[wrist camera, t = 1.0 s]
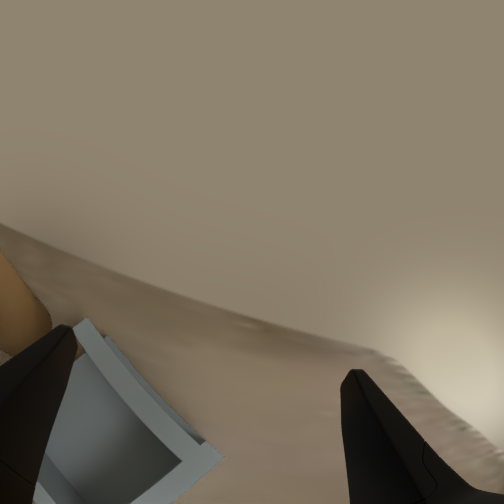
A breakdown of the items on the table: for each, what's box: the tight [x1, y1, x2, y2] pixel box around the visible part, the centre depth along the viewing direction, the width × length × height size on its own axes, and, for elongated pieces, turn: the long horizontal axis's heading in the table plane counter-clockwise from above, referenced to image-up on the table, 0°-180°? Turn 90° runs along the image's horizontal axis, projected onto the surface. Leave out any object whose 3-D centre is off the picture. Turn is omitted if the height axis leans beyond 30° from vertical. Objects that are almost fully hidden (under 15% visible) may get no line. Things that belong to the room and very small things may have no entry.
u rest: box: [33, 317, 225, 504], centre depth 15 cm, size 12×13×6 cm
